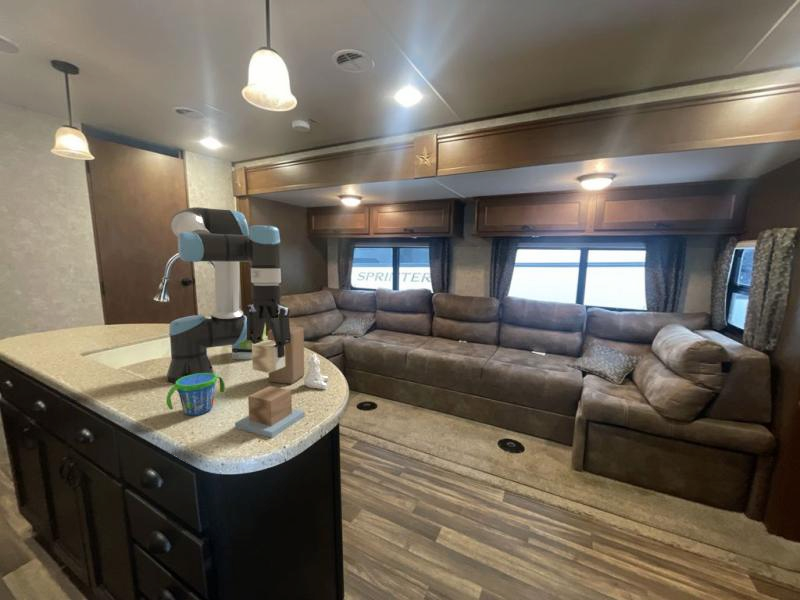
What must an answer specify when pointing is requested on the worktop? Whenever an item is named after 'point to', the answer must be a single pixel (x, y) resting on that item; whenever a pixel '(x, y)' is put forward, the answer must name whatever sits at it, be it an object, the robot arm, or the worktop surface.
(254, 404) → the walnut brick
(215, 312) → the robot arm
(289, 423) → the plate
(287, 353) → the block
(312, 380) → the sitting furry creature
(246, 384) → the worktop surface
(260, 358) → the oak brick
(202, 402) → the snack cup
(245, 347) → the tea box
